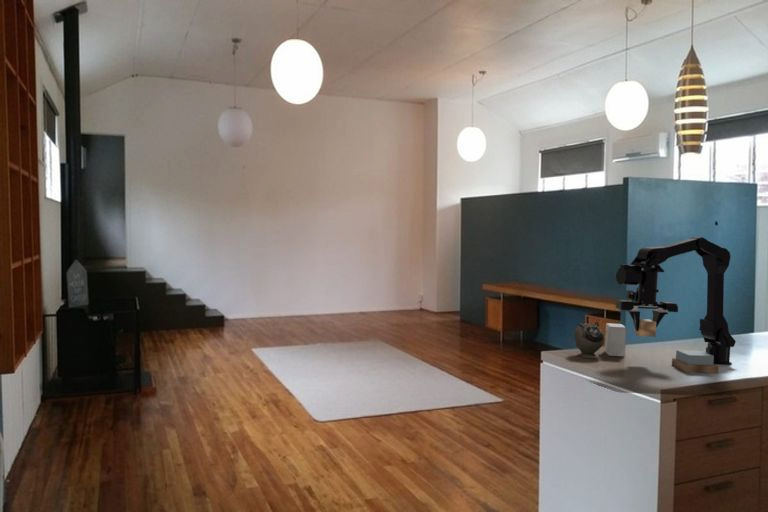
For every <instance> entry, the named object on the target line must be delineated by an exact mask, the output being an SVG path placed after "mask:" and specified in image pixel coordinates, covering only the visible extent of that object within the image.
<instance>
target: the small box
mask: <svg viewBox="0 0 768 512" xmlns="http://www.w3.org/2000/svg"><path fill="white" fill-rule="evenodd" d="M626 335H627V327H626V326H625V325H624V324H622V323H609V322H606V324H605V336H604V352H605V353H606V354H607V356H610V357H626V342H627V341H626V340H627V339H626V337H627V336H626Z"/></svg>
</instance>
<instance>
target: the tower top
mask: <svg viewBox="0 0 768 512" xmlns="http://www.w3.org/2000/svg"><path fill="white" fill-rule="evenodd" d="M675 354H676V355H675V358H676V359H677V360H679V361H682V362H684V363H686V364H689V365H713V364H714V363H713V361H714V356H713V355H710V354H707V353H706V351H702V350H691V349H690V350H687V349H685V350H684V349H676V353H675Z"/></svg>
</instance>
